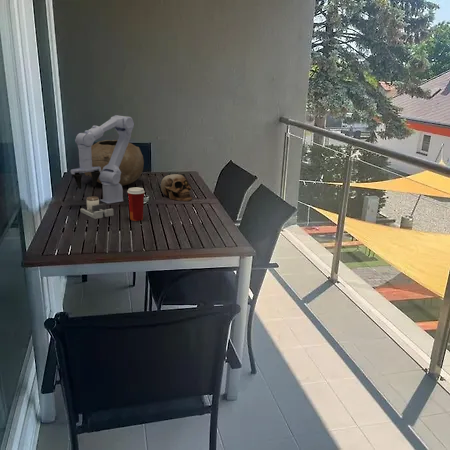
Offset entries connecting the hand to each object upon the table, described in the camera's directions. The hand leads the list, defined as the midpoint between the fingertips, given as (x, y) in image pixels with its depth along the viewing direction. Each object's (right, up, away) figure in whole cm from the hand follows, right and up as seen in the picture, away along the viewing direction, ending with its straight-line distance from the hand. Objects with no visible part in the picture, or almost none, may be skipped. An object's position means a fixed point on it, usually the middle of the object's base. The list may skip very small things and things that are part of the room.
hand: (87, 187), depth 216 cm
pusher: (+11, -14, -10) cm, 20 cm away
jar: (+5, -12, -5) cm, 14 cm away
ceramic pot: (+1, +6, +51) cm, 51 cm away
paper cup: (+26, -16, -12) cm, 33 cm away
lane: (+6, -13, -6) cm, 16 cm away
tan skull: (+40, -3, +28) cm, 49 cm away
